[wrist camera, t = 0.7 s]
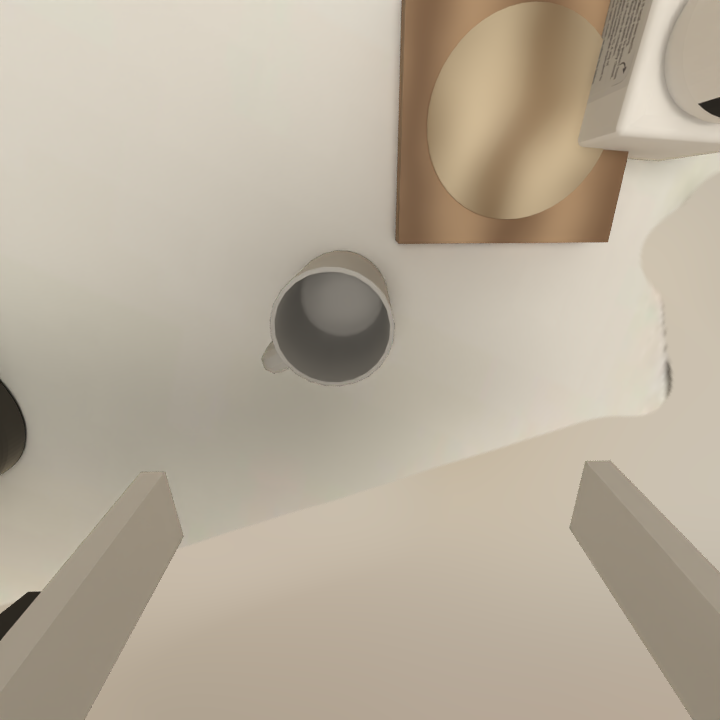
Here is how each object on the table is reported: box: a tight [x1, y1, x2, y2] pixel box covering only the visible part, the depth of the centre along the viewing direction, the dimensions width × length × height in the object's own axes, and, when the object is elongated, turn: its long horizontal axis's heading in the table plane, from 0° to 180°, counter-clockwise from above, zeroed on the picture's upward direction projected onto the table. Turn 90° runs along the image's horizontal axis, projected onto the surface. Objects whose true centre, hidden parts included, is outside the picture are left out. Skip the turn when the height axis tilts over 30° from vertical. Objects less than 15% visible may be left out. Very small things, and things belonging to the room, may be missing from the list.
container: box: [578, 0, 720, 161], centre depth 18 cm, size 8×8×13 cm
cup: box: [262, 251, 395, 386], centre depth 26 cm, size 7×10×9 cm
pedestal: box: [396, 0, 629, 244], centre depth 24 cm, size 14×14×3 cm
